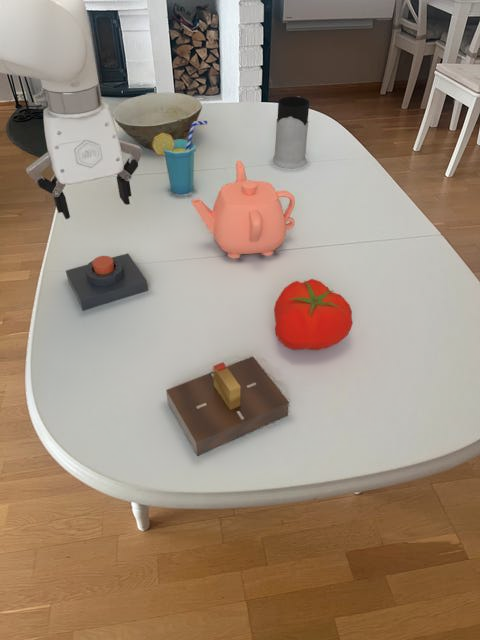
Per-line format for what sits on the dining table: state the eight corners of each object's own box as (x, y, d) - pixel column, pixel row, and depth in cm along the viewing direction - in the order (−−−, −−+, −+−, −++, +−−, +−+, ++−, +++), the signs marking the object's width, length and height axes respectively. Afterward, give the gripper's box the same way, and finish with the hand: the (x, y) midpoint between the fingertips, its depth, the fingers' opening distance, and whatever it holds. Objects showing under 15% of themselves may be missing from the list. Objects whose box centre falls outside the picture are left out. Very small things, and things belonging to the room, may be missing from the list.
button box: (82, 310, 90) (78, 292, 87) (67, 280, 96) (63, 262, 94) (148, 290, 94) (145, 272, 91) (129, 262, 101) (126, 245, 98)
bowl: (101, 154, 138) (94, 116, 131) (140, 122, 155) (135, 87, 148) (184, 165, 133) (181, 126, 126) (214, 131, 150) (213, 95, 143)
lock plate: (197, 456, 68) (196, 441, 66) (167, 403, 75) (165, 389, 72) (287, 415, 73) (289, 401, 71) (252, 369, 80) (253, 355, 77)
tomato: (343, 374, 79) (351, 331, 73) (262, 357, 81) (264, 315, 76) (353, 316, 89) (361, 275, 83) (281, 303, 91) (284, 262, 86)
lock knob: (240, 406, 70) (240, 385, 68) (230, 410, 70) (229, 389, 67) (223, 381, 74) (223, 360, 71) (213, 385, 73) (212, 364, 70)
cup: (199, 174, 129) (196, 113, 119) (218, 185, 125) (216, 123, 115) (151, 190, 123) (143, 127, 113) (169, 203, 118) (163, 138, 108)
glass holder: (269, 166, 133) (272, 106, 123) (279, 144, 143) (283, 87, 133) (303, 169, 131) (309, 109, 121) (311, 147, 142) (317, 90, 132)
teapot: (191, 249, 104) (187, 187, 95) (237, 214, 115) (238, 155, 106) (260, 276, 98) (263, 212, 89) (302, 236, 108) (308, 175, 99)
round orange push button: (97, 277, 91) (95, 269, 90) (91, 267, 93) (89, 258, 92) (117, 271, 92) (115, 263, 91) (110, 261, 95) (109, 253, 94)
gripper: (13, 117, 66) (46, 232, 78) (142, 96, 72) (155, 205, 84) (4, 99, 71) (36, 209, 83) (125, 81, 77) (139, 186, 89)
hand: (95, 207), depth 83 cm, fingers open, 9 cm apart
